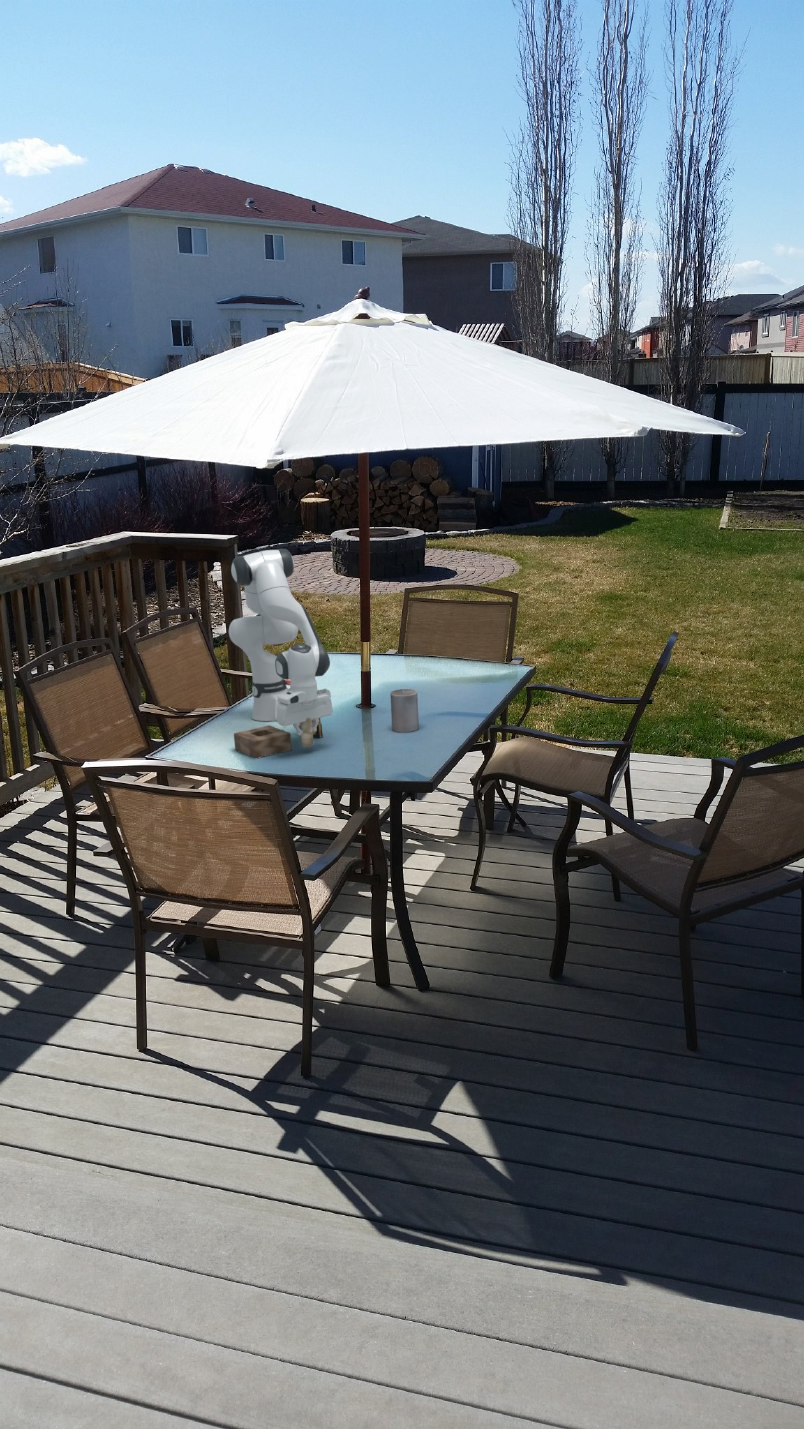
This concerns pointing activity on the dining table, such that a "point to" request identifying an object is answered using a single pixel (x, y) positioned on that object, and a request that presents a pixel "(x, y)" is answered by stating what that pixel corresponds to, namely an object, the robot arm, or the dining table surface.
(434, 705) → the dining table surface
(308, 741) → the peg
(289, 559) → the robot arm
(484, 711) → the dining table surface
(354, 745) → the dining table surface
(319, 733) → the ammunition clip
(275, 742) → the socket block
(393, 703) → the pillar candle
